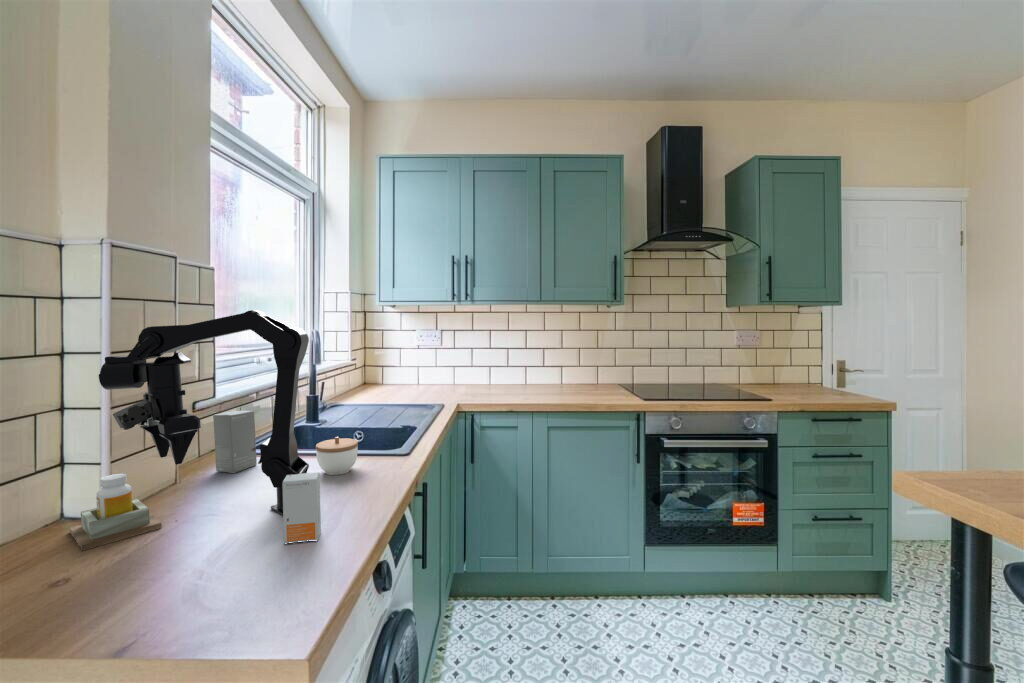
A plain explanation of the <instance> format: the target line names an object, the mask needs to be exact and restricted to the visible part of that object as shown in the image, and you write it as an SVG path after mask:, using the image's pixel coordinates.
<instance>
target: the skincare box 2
mask: <svg viewBox="0 0 1024 683" xmlns="http://www.w3.org/2000/svg"><path fill="white" fill-rule="evenodd" d="M321 513H322V512H321V473H320V472H307V473H302V474H294V475H287V476H286V477H285V479H284V481H283V515H282V519H283V520H282V522H283V523H282V524H283V544H284V543H289V542H298V541H307V540H308V541H309V540H318V541H319V538H318V537H320V534H321V532H322V528H321V527H322V526H321V525H322V522H321V521H322V520H321V519H322V518H321Z"/></svg>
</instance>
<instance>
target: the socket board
mask: <svg viewBox="0 0 1024 683" xmlns="http://www.w3.org/2000/svg"><path fill="white" fill-rule="evenodd" d="M132 509H133V511H131V512H127V513H123V514H119V515H115V516H111V517H107V518H104V519H100V520H98V517H97V507H95V508H91V509H87V510H82V511H80V522H81V524H78V525H77V524H76V525H73V526H70V527H69V533H70V532H71V533H70V534H72V535H71V536H72V538H73V537H74V538H73V539H74V541H75V540H76V541H75V542H76V544H77V543H78V544H77V545H78V546H79V548H80V547H81V548H80V550H81V551H82V550H83V551H85V550H86V549H87V550H89V549H88V548H90V549H93V548H92V547H94V548H97V547H100V546H103V545H106V544H110V543H114V542H117V541H120V540H125V539H127V538H132V537H134V536H135V537H136V536H138V535H141V534H144V533H148V532H152V531H155V530H158V529H162V526H163V523H162V521H160V520H159V519H157V517H155V516H154V515H153V514H152V513H150V508H149V507H147V506H146V505H145V504H144V503H143V502H141V500H139V499H138V498H132ZM96 546H97V547H96Z"/></svg>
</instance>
